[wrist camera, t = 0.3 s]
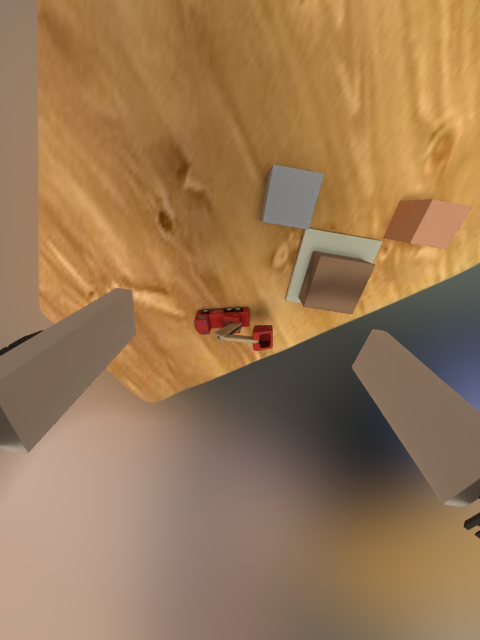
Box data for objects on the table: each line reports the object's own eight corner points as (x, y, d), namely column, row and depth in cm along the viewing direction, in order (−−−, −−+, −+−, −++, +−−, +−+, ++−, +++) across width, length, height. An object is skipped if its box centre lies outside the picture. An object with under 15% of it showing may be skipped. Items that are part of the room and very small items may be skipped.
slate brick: (268, 172, 29) (273, 164, 23) (310, 180, 29) (324, 173, 24) (260, 219, 31) (262, 221, 26) (298, 226, 32) (308, 229, 26)
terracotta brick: (400, 201, 30) (432, 199, 24) (432, 207, 30) (472, 206, 24) (383, 237, 32) (409, 243, 27) (413, 242, 32) (445, 249, 27)
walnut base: (312, 250, 32) (320, 255, 29) (361, 259, 33) (375, 264, 29) (298, 297, 36) (303, 306, 32) (342, 304, 36) (352, 314, 33)
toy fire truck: (196, 309, 39) (181, 336, 30) (268, 305, 38) (273, 332, 30) (199, 324, 41) (186, 354, 32) (268, 320, 40) (273, 350, 31)
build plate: (304, 227, 32) (306, 228, 31) (378, 240, 32) (382, 241, 31) (284, 298, 37) (285, 300, 36) (348, 308, 38) (350, 310, 37)
